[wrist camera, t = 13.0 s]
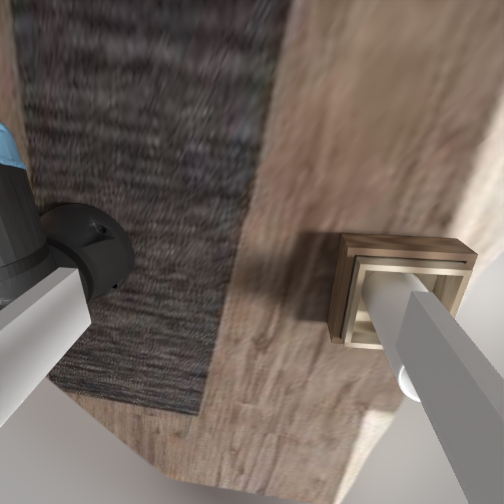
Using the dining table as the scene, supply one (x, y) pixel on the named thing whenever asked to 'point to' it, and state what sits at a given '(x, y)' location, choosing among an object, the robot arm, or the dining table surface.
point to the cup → (391, 315)
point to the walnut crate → (389, 248)
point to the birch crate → (427, 270)
